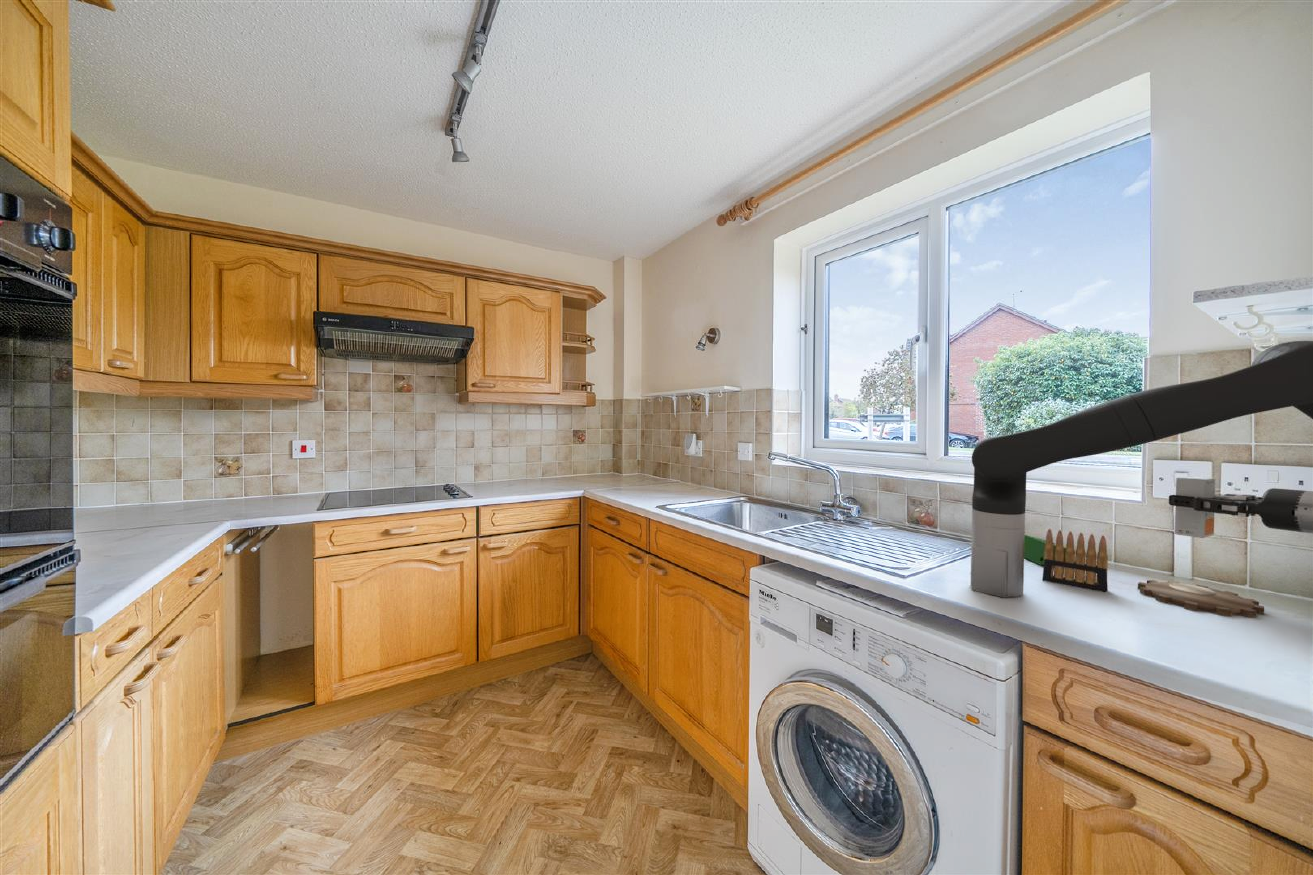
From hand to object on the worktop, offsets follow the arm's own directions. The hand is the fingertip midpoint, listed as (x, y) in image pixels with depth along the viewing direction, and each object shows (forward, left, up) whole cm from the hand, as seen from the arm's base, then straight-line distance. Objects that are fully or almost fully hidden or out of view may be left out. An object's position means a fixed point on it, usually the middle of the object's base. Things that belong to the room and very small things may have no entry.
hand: (1179, 498), depth 99 cm
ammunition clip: (-13, +14, -20) cm, 27 cm away
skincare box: (-1, -2, -7) cm, 8 cm away
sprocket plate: (-4, -3, -20) cm, 20 cm away
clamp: (+4, +23, -20) cm, 31 cm away
